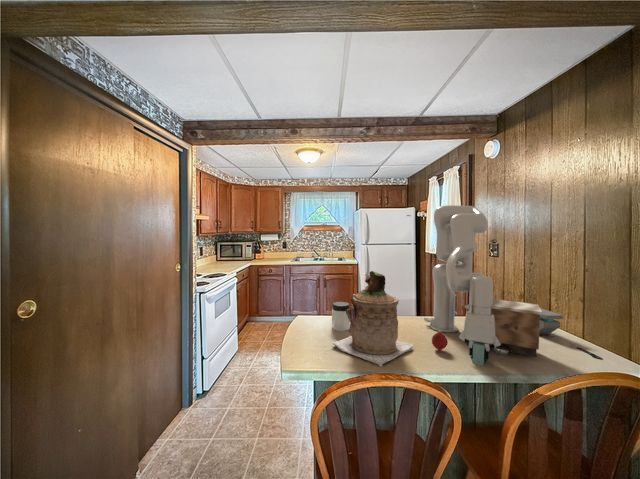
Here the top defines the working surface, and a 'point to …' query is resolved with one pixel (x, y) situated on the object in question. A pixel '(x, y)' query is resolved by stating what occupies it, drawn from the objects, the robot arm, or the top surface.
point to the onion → (439, 340)
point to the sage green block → (478, 353)
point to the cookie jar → (373, 324)
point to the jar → (340, 316)
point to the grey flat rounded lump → (501, 350)
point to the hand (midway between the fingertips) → (478, 358)
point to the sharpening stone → (548, 321)
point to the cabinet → (517, 325)
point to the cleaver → (585, 351)
